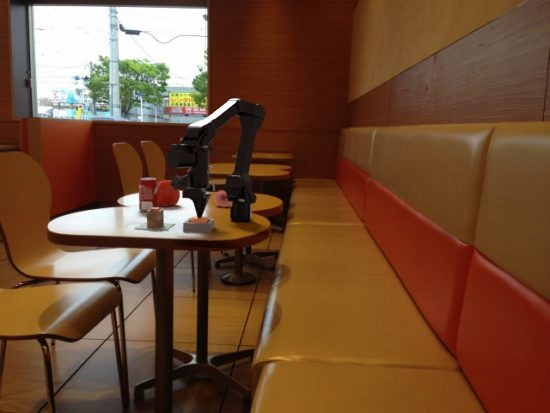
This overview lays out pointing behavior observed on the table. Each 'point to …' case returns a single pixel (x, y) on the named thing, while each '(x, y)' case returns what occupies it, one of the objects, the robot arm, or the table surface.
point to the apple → (167, 194)
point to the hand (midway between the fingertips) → (199, 217)
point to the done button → (199, 220)
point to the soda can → (148, 193)
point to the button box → (198, 226)
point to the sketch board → (164, 227)
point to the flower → (222, 199)
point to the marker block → (155, 217)
